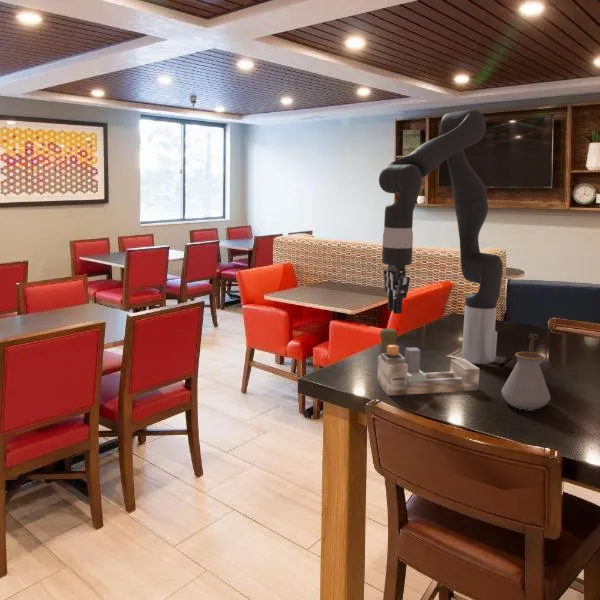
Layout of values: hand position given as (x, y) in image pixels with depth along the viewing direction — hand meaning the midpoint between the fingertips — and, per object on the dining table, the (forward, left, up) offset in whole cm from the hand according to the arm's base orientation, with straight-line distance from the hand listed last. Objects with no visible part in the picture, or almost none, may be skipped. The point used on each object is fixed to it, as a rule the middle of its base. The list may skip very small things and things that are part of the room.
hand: (394, 311), depth 155 cm
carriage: (-5, 0, -18) cm, 19 cm away
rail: (-10, 0, -21) cm, 23 cm away
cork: (-6, -21, -21) cm, 31 cm away
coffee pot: (-32, +12, -21) cm, 40 cm away
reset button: (0, 0, -11) cm, 11 cm away
